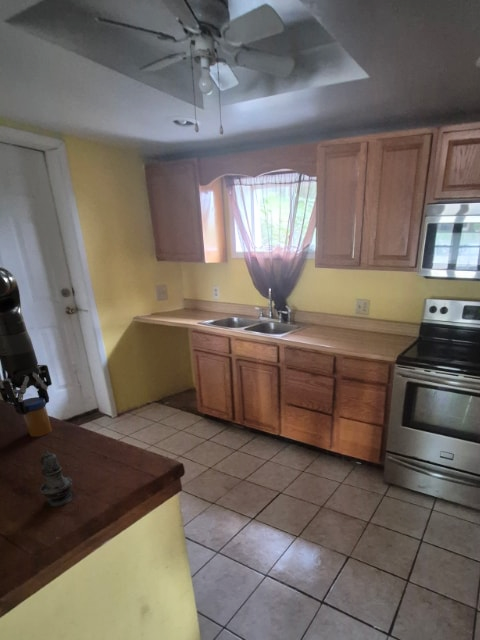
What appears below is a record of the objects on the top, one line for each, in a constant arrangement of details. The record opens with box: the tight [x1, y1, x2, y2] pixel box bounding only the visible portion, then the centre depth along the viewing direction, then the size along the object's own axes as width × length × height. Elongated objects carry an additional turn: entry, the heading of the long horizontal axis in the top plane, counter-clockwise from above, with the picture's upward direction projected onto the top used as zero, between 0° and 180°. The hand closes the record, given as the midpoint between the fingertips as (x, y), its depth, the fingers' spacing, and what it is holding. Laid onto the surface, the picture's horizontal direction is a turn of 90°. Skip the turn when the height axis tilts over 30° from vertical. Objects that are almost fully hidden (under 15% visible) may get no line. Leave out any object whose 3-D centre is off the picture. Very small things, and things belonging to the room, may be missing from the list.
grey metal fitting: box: [39, 450, 75, 508], centre depth 77 cm, size 6×6×12 cm
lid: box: [22, 396, 47, 411], centre depth 101 cm, size 6×6×2 cm
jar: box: [22, 406, 53, 438], centre depth 103 cm, size 5×5×10 cm
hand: (34, 408), depth 101 cm, fingers open, 7 cm apart
